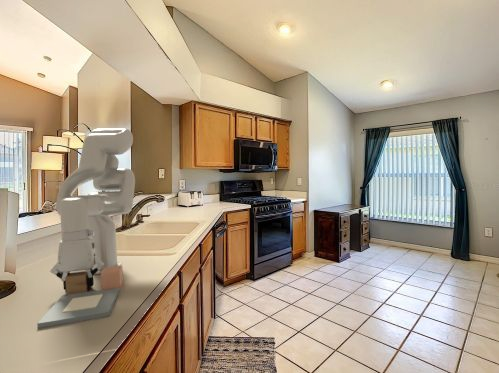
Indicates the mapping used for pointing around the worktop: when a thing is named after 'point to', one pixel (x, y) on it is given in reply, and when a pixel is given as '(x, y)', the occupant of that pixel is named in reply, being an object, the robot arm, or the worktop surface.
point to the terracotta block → (112, 277)
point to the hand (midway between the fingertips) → (79, 289)
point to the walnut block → (76, 282)
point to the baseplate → (80, 307)
